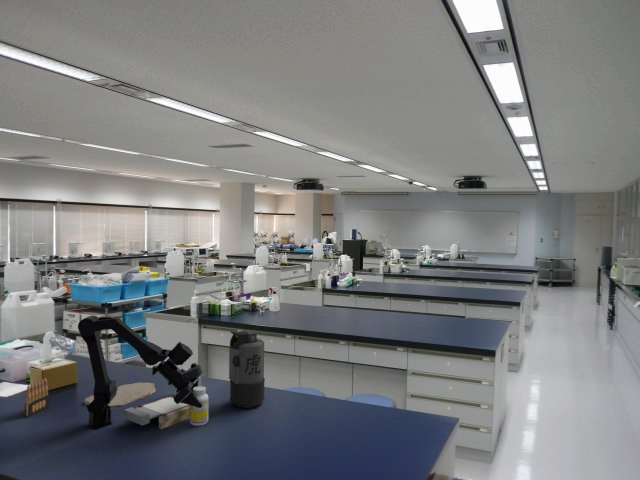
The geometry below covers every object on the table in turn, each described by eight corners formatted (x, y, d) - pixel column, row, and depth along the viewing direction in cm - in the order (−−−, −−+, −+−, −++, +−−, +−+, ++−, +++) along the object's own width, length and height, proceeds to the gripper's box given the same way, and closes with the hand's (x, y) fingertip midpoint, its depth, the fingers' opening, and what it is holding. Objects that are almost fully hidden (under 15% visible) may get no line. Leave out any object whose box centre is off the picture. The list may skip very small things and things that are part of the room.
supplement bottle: (192, 418, 180) (193, 384, 180) (210, 419, 180) (210, 385, 180) (187, 426, 174) (187, 390, 173) (205, 426, 174) (205, 391, 173)
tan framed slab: (161, 429, 171) (161, 415, 171) (135, 418, 180) (135, 405, 180) (196, 415, 184) (196, 403, 184) (170, 406, 193) (170, 394, 193)
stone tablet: (80, 404, 194) (80, 398, 194) (141, 384, 220) (141, 379, 220) (106, 413, 186) (106, 407, 186) (166, 391, 212) (166, 385, 212)
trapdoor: (143, 425, 167) (143, 417, 167) (123, 417, 174) (123, 409, 174) (189, 408, 183) (189, 401, 183) (169, 401, 190) (169, 394, 190)
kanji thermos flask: (270, 405, 195) (271, 331, 195) (238, 412, 187) (239, 335, 187) (255, 394, 207) (255, 325, 206) (223, 401, 199) (224, 329, 198)
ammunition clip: (28, 417, 180) (28, 385, 179) (24, 417, 180) (24, 385, 180) (49, 407, 190) (49, 377, 190) (45, 406, 190) (45, 376, 190)
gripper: (183, 365, 167) (215, 396, 168) (193, 351, 185) (222, 380, 186) (160, 388, 166) (192, 419, 167) (172, 372, 185) (201, 400, 186)
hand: (203, 403), depth 177 cm, fingers closed on supplement bottle, 7 cm apart
